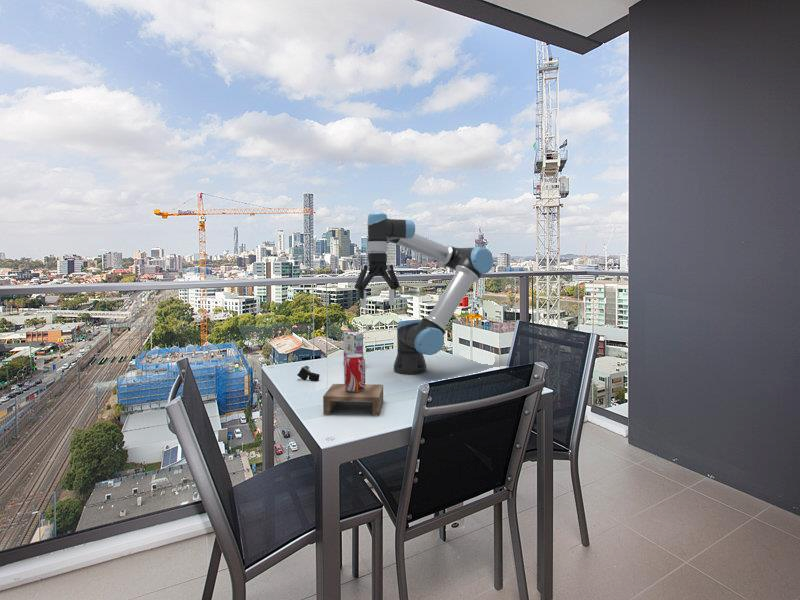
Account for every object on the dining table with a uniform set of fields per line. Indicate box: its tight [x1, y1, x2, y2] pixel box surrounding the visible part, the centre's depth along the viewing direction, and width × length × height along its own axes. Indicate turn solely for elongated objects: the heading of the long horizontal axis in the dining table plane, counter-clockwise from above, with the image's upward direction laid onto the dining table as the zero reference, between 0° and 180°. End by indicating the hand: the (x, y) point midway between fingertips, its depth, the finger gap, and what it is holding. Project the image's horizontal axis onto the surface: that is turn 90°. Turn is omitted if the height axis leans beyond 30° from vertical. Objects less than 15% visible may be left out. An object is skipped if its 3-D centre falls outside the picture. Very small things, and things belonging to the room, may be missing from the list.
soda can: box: [343, 353, 366, 392], centre depth 137 cm, size 7×7×12 cm
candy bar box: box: [342, 331, 364, 361], centre depth 192 cm, size 11×5×16 cm, turn 37°
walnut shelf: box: [322, 383, 384, 417], centre depth 137 cm, size 18×14×6 cm
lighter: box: [296, 365, 321, 382], centre depth 171 cm, size 9×2×6 cm
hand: (378, 306), depth 162 cm, fingers open, 13 cm apart
